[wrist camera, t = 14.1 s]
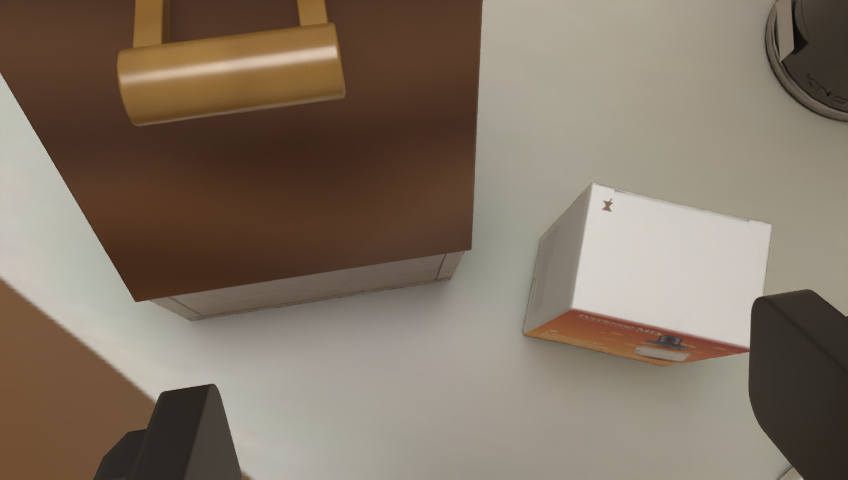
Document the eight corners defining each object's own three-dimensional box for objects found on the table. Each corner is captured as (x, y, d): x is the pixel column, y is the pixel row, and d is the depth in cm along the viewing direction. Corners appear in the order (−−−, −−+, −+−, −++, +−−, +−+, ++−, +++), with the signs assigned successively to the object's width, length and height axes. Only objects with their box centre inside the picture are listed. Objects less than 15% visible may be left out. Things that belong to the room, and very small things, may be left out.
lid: (-79, -88, 19) (-132, 67, 16) (482, -151, 21) (538, -18, 17) (135, 286, 33) (130, 412, 30) (467, 235, 34) (497, 351, 31)
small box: (520, 335, 42) (564, 309, 32) (539, 234, 44) (588, 178, 33) (668, 369, 42) (759, 354, 32) (683, 268, 44) (777, 222, 33)
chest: (159, 42, 45) (106, -48, 36) (403, 10, 46) (408, -84, 37) (189, 321, 42) (139, 296, 33) (451, 279, 43) (468, 244, 34)
